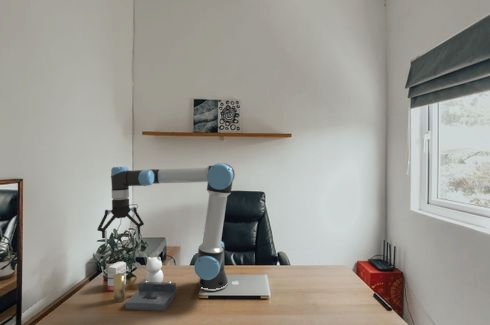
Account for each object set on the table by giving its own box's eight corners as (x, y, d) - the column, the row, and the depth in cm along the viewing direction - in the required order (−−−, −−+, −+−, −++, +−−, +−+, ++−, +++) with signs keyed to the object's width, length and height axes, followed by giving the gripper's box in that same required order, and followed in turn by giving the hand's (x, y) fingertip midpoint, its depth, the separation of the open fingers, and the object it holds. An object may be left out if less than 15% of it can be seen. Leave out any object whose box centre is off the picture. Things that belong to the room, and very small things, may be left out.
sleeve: (126, 298, 129) (126, 273, 129) (121, 303, 124) (121, 277, 124) (117, 297, 129) (117, 272, 129) (112, 302, 125) (111, 277, 125)
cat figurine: (143, 289, 138) (142, 260, 138) (149, 278, 151) (149, 251, 150) (161, 288, 139) (160, 259, 139) (166, 277, 151) (165, 251, 151)
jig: (176, 295, 131) (175, 281, 131) (164, 310, 117) (164, 295, 117) (140, 293, 133) (140, 280, 133) (125, 309, 119) (125, 293, 119)
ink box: (115, 291, 136) (115, 267, 136) (107, 290, 137) (106, 267, 137) (126, 283, 144) (126, 261, 144) (118, 283, 145) (118, 261, 145)
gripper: (146, 195, 139) (147, 236, 139) (91, 200, 127) (92, 244, 127) (148, 197, 132) (150, 240, 132) (90, 201, 121) (91, 249, 121)
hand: (121, 242), depth 130 cm, fingers open, 13 cm apart
